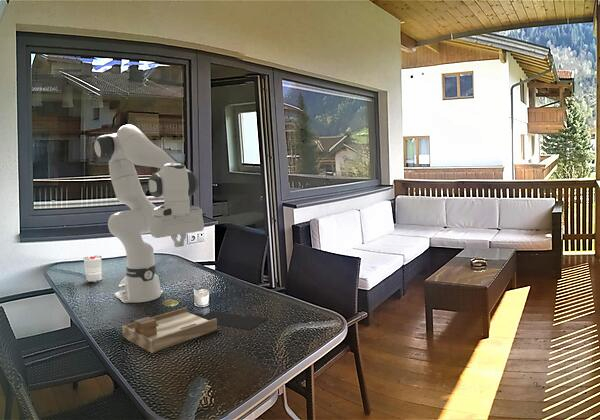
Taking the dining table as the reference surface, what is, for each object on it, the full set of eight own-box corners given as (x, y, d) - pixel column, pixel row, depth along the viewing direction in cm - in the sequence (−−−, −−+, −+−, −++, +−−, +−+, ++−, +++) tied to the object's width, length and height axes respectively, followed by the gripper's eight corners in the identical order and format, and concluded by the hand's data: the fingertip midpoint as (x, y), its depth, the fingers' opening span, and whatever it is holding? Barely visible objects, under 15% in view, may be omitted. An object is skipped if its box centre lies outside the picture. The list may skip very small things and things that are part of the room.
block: (135, 335, 156) (134, 320, 156) (149, 330, 160) (148, 316, 159) (142, 338, 153) (141, 324, 152) (156, 334, 157) (155, 319, 156)
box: (122, 337, 161) (122, 326, 161) (186, 317, 179) (185, 307, 179) (151, 353, 148) (150, 340, 147) (217, 329, 166) (216, 318, 165)
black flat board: (250, 329, 165) (182, 318, 178) (250, 331, 165) (183, 319, 178) (267, 318, 176) (203, 308, 189) (267, 319, 176) (203, 309, 189)
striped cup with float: (82, 280, 237) (80, 257, 235) (99, 277, 242) (97, 254, 241) (89, 284, 229) (87, 260, 228) (106, 280, 235) (104, 257, 233)
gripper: (196, 205, 178) (198, 240, 180) (147, 210, 164) (149, 249, 166) (206, 206, 174) (208, 242, 176) (156, 212, 160) (158, 252, 161)
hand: (179, 246), depth 171 cm, fingers closed
